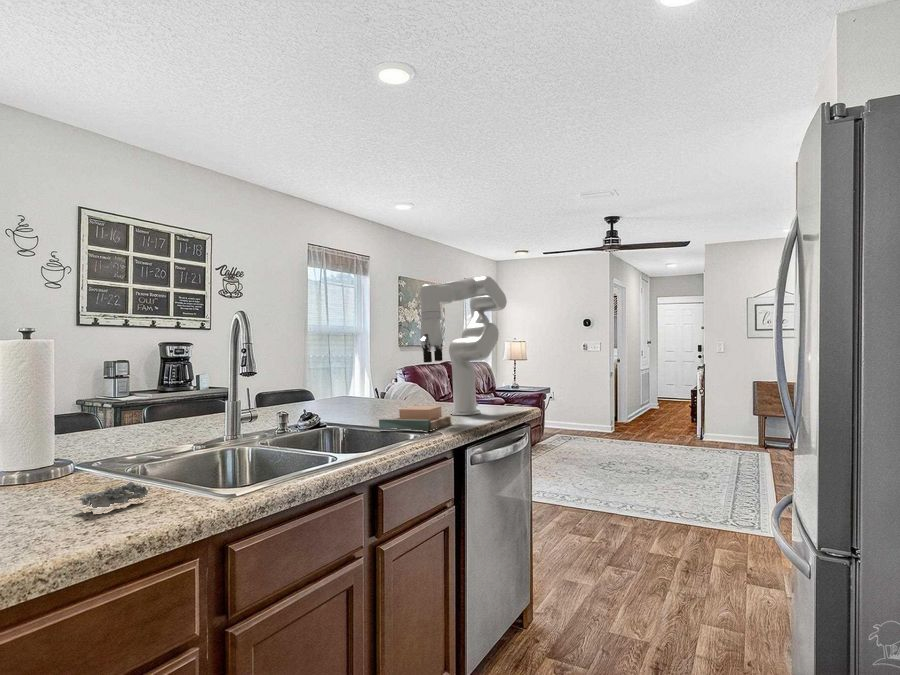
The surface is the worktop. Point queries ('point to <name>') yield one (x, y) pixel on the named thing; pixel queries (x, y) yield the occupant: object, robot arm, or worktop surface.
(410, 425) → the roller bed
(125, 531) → the worktop surface
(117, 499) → the grey rough flat piece
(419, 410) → the clay slab
